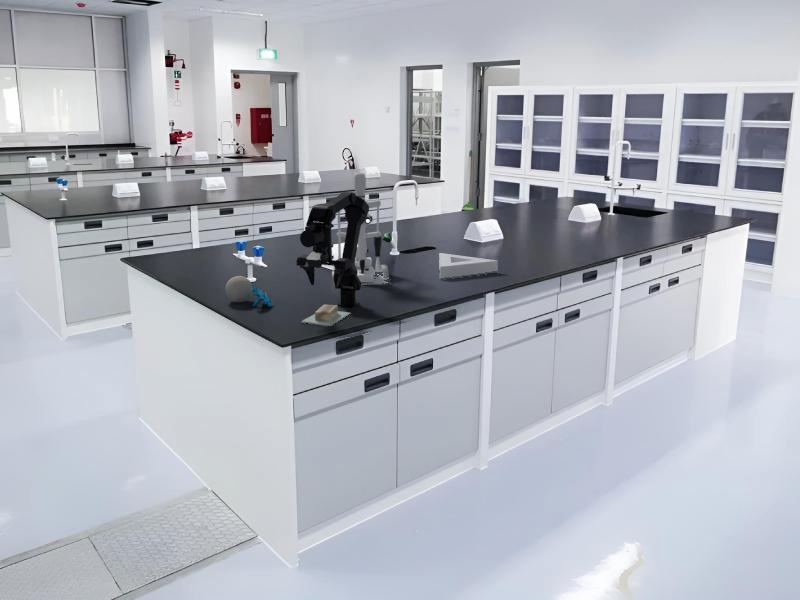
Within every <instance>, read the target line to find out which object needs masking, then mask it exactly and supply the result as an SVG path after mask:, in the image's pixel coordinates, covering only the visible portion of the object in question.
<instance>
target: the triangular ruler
mask: <svg viewBox="0 0 800 600" xmlns="http://www.w3.org/2000/svg"><path fill="white" fill-rule="evenodd" d="M438 256H439V257H438V261H439V262H438V267H439V270H440V273H439V279H440V278H445V277H453V276H462V275H470V274H478V273H485V272H492V271H497V272H498V270H499V269H498V267H499V266H498V265H499V260H498V259H497V260H496V259H487V258H481V257H473V256H467V255H466V256H465V255H457V254H450V253H444V252H438Z"/></svg>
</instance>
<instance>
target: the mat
mask: <svg viewBox="0 0 800 600" xmlns="http://www.w3.org/2000/svg"><path fill="white" fill-rule="evenodd" d="M349 314H351V315H352V312H346V311H340V310H338V314H337V315H336V316H335V317H333V318H332V319H331V320H330V321H315V313H314V314H312V315H311V316H308V317H306V318H305V319H302V320H301V323H302V324H306V323H308V324H307V325H313V324H314V325H313V326H323V327H328V326H329V328H330V326H331V327H332V326H334V325H336V324H337V323H339V322H341V321H342V320H344V319H345V317H346V316H347V317H349V316H350V315H349ZM348 315H349V316H348ZM347 317H346V318H347ZM343 318H344V319H343ZM340 320H341V321H340ZM338 321H339V322H338ZM335 323H336V324H335Z"/></svg>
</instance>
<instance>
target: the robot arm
mask: <svg viewBox="0 0 800 600" xmlns="http://www.w3.org/2000/svg"><path fill="white" fill-rule="evenodd" d="M366 202H367V201H366V199H365V200H363V199H362V198H360V197H358V196H357V195H356V192H352V191H341V192H340V193H339V195H337V196H335V197H333V198H332V199H331V200H329V201H328V202H325V203H317V204H314V205H313V206H312V207H311V209H310V212H309V215H308V217H307V221H306V224H305V227H304V230H303V231H302V232H301V234H300V236H299V241H300V243H301V245H302V246H303V247H305V248H312V252H311V253H310V254H302V255H300V256H298V257H297V258H296V260H295V264H296V266H299V269H303V271H305V273H306V274H307V277H308V280H309V283H310V285H311V286H314V285H315V270H316V269H320V268H322V266H323V265H324V266H332V267H333V266H334V267H335V270H334V269H333V271H334V274H333V276H332V280H333V281H334V282H333V286H334V285H335V287H334V288H335V289H336V290H338V289H339V290H340V291H339V293H340V295H339V296H340V300H339V301H340V302H338V303H337V304H336V305H338V307H346V306H348V307H347V308H354V307H355V306H357V305H359V304H360V301H357V298H356V297H357V293H356V292H357V291H361V289H362V286H361V281H360V280H359V278H358V277H357V272H358V271H357V269H356V266H355V258H356V251H357V247H358V239H359V233H360V227H361V225H362V224H363V222H364V221H365V220H366V218H367V214H369V211H370V208H369V205H368V204H367V203H366ZM342 210H344V217H345V219H346V221H347V227H346V231H345V233H346V237H344V243H343V249H342V250H343V251H342V254H341V258H340V259H335V258H334V257H335V255H333V248H334V244H333V243H332V239H333V238H332V228H334V226H335V225H334V224H333V221H334V220H335V219H336V218H337V214H338V212H339V211H340V212H341V211H342ZM315 268H316V269H315ZM358 303H359V304H358ZM356 304H357V305H356ZM353 306H354V307H353Z"/></svg>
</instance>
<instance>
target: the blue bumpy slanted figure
mask: <svg viewBox="0 0 800 600" xmlns="http://www.w3.org/2000/svg"><path fill="white" fill-rule="evenodd" d="M252 286H253V285H252ZM252 291H253V292H252V293H253V294H254V295H255V296H256V297H257V300H256V301H255V302H253V304H252V307H254V308H256V306H257V305H258V304H260V303H261V302H262V303H263V304H264V305H266V306H267V307H269V308H270V307H271V308H273V307H274V302H273V301H272V299H271V298H270V297H268V293H267V292H263V290H262V289H261V288H260V289H259V287H258V286H253V287H252Z"/></svg>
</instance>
